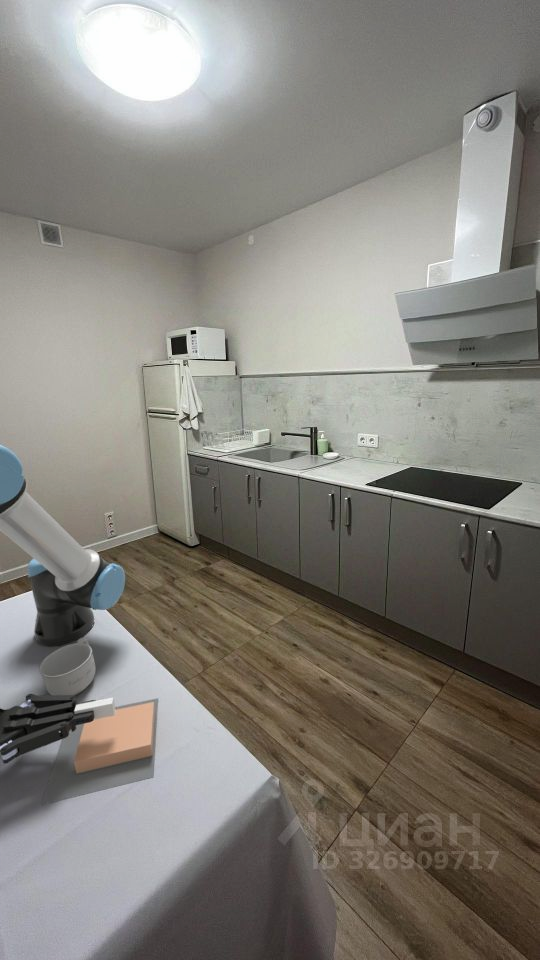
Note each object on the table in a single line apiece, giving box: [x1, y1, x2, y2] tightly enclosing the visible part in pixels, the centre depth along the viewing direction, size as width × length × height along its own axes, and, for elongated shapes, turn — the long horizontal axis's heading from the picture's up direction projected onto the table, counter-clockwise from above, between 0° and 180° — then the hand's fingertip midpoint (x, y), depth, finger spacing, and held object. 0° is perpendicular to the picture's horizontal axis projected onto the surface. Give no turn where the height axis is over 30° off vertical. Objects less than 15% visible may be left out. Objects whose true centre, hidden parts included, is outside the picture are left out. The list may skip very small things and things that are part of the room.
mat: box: [41, 697, 159, 806], centre depth 76 cm, size 18×18×1 cm
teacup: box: [39, 637, 96, 696], centre depth 92 cm, size 14×11×8 cm
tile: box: [74, 702, 155, 773], centre depth 76 cm, size 10×3×13 cm
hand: (113, 706), depth 74 cm, fingers closed
